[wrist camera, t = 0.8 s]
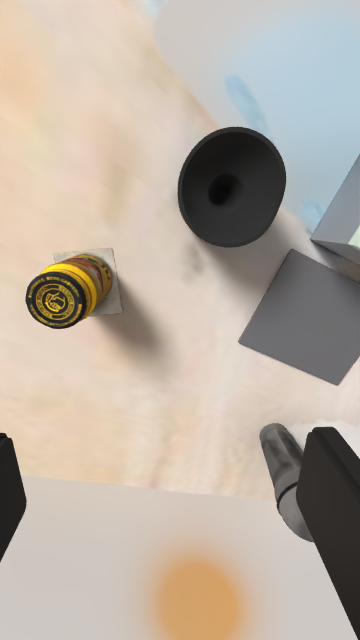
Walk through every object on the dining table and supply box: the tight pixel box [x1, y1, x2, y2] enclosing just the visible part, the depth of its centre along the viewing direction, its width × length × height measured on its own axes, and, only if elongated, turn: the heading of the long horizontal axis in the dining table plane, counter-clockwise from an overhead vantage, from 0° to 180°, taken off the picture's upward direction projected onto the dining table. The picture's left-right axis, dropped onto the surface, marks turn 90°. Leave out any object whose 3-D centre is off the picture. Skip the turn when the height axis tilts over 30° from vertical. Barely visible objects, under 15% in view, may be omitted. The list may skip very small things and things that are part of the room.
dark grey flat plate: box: [238, 249, 360, 385], centre depth 39 cm, size 14×17×1 cm
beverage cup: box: [260, 423, 314, 542], centre depth 36 cm, size 7×7×20 cm
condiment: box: [26, 248, 123, 329], centre depth 31 cm, size 7×8×12 cm
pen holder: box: [178, 127, 286, 247], centre depth 29 cm, size 9×9×10 cm
